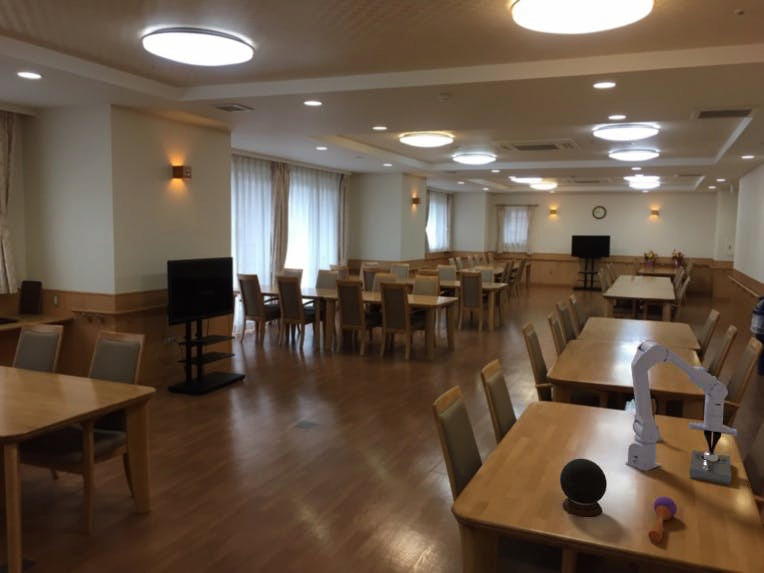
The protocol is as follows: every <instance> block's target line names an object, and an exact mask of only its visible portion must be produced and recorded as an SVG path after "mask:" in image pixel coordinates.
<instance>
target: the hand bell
mask: <svg viewBox="0 0 764 573" xmlns="http://www.w3.org/2000/svg"><path fill="white" fill-rule="evenodd" d="M651 406H652V415H653V417H654V420H655V421H656V419H655V418H656V417H655V416H656V412H657V402H656V400H655V398H651ZM656 427H657V428H658V430H659V425H658V424H656ZM659 431H660V430H659ZM663 440H664V438H663V436H662V435H661V434H660V437H659V439H658V440H657V442H663ZM657 442H656V443H657Z"/></svg>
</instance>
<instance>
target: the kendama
mask: <svg viewBox="0 0 764 573" xmlns="http://www.w3.org/2000/svg"><path fill="white" fill-rule="evenodd" d="M653 508H654V512H655V514H656V516H657V517H658V519H657V520H656V522H655V524H654V525H653V526H652V527H651V529H650V530H649V531H648V534H647V536H648V538H649V540H650V541H652V542H655V543H658V544H659V543H660V542H661V541H662V538H663V528H664V521H668V520H670V519H672V518H674V517H675V515H676V514H677V504H676V503H675V501H674V500H673V499H672V498H670V497H667V496H659V497H658V498H656V499H655V501H654V502H653Z"/></svg>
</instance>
